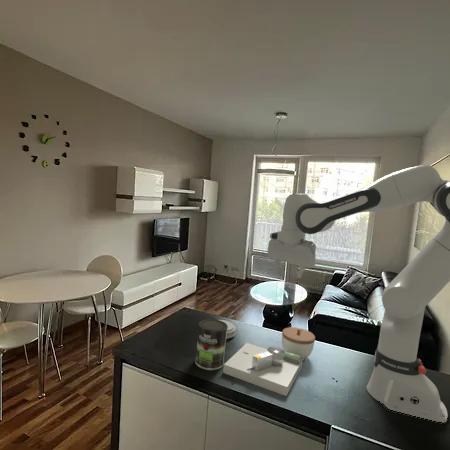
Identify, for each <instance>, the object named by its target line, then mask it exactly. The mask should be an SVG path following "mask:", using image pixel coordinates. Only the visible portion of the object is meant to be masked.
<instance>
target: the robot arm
mask: <svg viewBox="0 0 450 450" xmlns="http://www.w3.org/2000/svg"><path fill="white" fill-rule="evenodd" d="M420 202H421V203H423V202H427V203H429V204H430V205H431V206H432V207H433V209H434V210H435V211H436V212H437V213H438V214H440V215H441V216H442V217H444V218H445V222H444V224H443V226H442V228H441V230H440V231H439V232H438V233H437V234H436V235H435V236H434V237H433V238H432V239H431V240H430V241H429V242H427V244H426V245H425V246H424V247H423V248H422V249H421V250H420V251H419V252H418V253H417V254H416V255H415V257H414V258H413V259H412V260H411V261H410V262H409V263H407V265H406V266H405V267H404V268H402V270H401V271H400V272H399V273H398V274H397V275H396V276H395V277H394V278H393V279H392V280H391V281H390V282H389V283H388V284H387V285H386V286H385V288H384V290H383V292H382V294H381V302H382V305H383V308H384V313H383V316H382V320H381V324H380V328H379V329H380V330H379V338H378V344H377V347H376V349H375V352H374V353H375V354H374V360H373V365H374V367H373V370H372V374H371V376H370V378H369V381H368V383H367V385H366V391H367V392H368V393H369V395H370V396H371V397H372V398H373V399H374V400H376V401H378V402H379V401H380V402H379V403H380V404H382V403H383V404H384V405H385V406H386V407H387V408H388V409H390V410H393V411H397V412H401V413H405V414H409V415H412V416H411V417H413V416H416V417H415V418H417V417H420V418H419V419H421V418H424V419H423V420H425V419H428V420H427V421H429V420H432V421H431V422H433V421H436V422H435V423H437V422H442V423H444V422H445V423H447V421H448V419H447V418H448V416H449V415H448V410H447V408H446V406H445V404H444V402H443V401H441V396H440V394H439V393H440V392H439V390H438V388H437V386H436V385H435V384H434V382H432V380H431V379H429V378H428V376H426V373H427V370H426V367H425V366H424V363H423V362H422V360H421V359H420V358H418V357H417V355H418V349H419V344H420V337H421V331H422V327H423V322H424V321H423V320H424V316H425V309H426V306H427V305H429V303H431V302H432V300H433V299H434V298H436V297H437V295H438V294H439V293H440V292H441V291H442V290H443V289H444V288H445V287H446V286H447V285H448V283H450V180H444V179H443V178H442V177H441V176H440V173H439V172H438V170H437V169H436V168H434V167H433V166H432V165H429V164H420V165H415V166H412V167H408V168H404V169H401V170H397V171H394V172H392V173H390V174H389V173H388V174H387V175H384V176H382V177H380V178H378V179H376V180H374V181H373V182H371V183H369V184H367V185H366V186H364V187H362V188H360V189H358V190H356V191H354V192H351V193H350V194H349V193H348V194H347V195H344V196H340V197H338V198H335V199H332V200H329V201H326V202H321V203H320V202H318V201H316V200H314V199H313V198H312V197H310V196H309V195H308V194H307V193H301V192H300V193H293V194H290V195H288V196H287V197H285V202H284V205H283V213H282V220H283V221H282V225H281V228H280V231H275V232H271V233H270V234H269V239H270V240H269V241H268V245H267V256H268V257H269V258H272V259H274V263H275V266H276V267H275V271H276V272H280V273H281V272H282V271H283V266H281V262H286V263H289V264H293V265H296V266H298V269H299V270H298V271H296V272H295V276H294V277H295V278H298V279H301V278H302V275H303V273H304V272H305V271H306V268H308V269H312V268H314V267H315V265H316V251H317V246H316V244H315V243H314V242H313V241H312V240H307V239H306V235H314V234H317V233H322V232H327V231H328V230H330V229H331V228H332V227H333V226H334V224H335V221H337V220H341V219H344V218H347V217H350V216H353V215H357V214H359V213H368V212H370V213H371V212H376V213H377V212H381V213H382V212H389V211H393V210H394V211H395V210H399V209H401V208H405V207H407V206H410V205H413V204H416V203H420ZM383 404H382V405H383ZM384 405H383V406H384ZM385 406H384V407H385ZM386 407H385V408H386ZM387 408H386V409H387ZM388 409H387V410H388ZM390 410H389V411H390ZM393 411H392V412H393ZM397 412H396V413H397ZM401 413H400V414H401ZM405 414H404V415H405ZM409 415H408V416H409ZM442 423H441V424H442ZM445 423H444V424H445Z"/></svg>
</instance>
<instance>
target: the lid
mask: <svg viewBox="0 0 450 450" xmlns="http://www.w3.org/2000/svg"><path fill="white" fill-rule="evenodd" d="M218 320H219V321H222V322H224V323H226V324H227V326H228V328H227V335H226V340H227V339H231V338H234V337H235V335H236V331H237V327H236V325H235V324H234V323H232V321H228V320H224V319H218Z"/></svg>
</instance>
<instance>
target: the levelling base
mask: <svg viewBox="0 0 450 450" xmlns="http://www.w3.org/2000/svg"><path fill="white" fill-rule="evenodd" d="M267 349H268V348H264V347H261V346H258V345H254V344H252V343H249V342H246V343H245V344H244V345H242V346H241V348H240V349H238V350H237V352H236V353H234V354H233V355H232V356H231V357H230V358H229V359H228V360H227V361H226V362H224V364H223V371H222V373H223V374H225V375H228V376H231V377H234V378H237V379H239V380H241V381H243V382H244V381H245V382H247V383H249V384H251V385H252V384H253V385H255V386H257V387H260V388H263V389H266V390H267V391H271V392H273V393H277V394H279V395H281V396H285V397H287V395H288V394H289V392H290V391H291V388H292V386H293V385H294V383H295V381H296V379H297V377H298V375H299V374H300V372H301V369H302V365H303V360H301V358H300V356H299V355H295V354H292V353H289V352H286V351H284V361H283V365H282V366H269V367H266V368H264V369H261V370H258V371H256V370H255V369H253V368H252V359H253V356H254V355H257V354H261V353H264V352H267Z"/></svg>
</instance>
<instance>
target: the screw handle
mask: <svg viewBox="0 0 450 450" xmlns="http://www.w3.org/2000/svg"><path fill="white" fill-rule="evenodd" d="M266 349H267V352H264V353H261V354H257V355H254V356H253V359H252V368H253V369H255V370H256V371H258V370H261V369H264V368H266V367H269V366H282V365H283V361H284V349H283V348H280V347H276V346H270V347H268V348H266Z"/></svg>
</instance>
